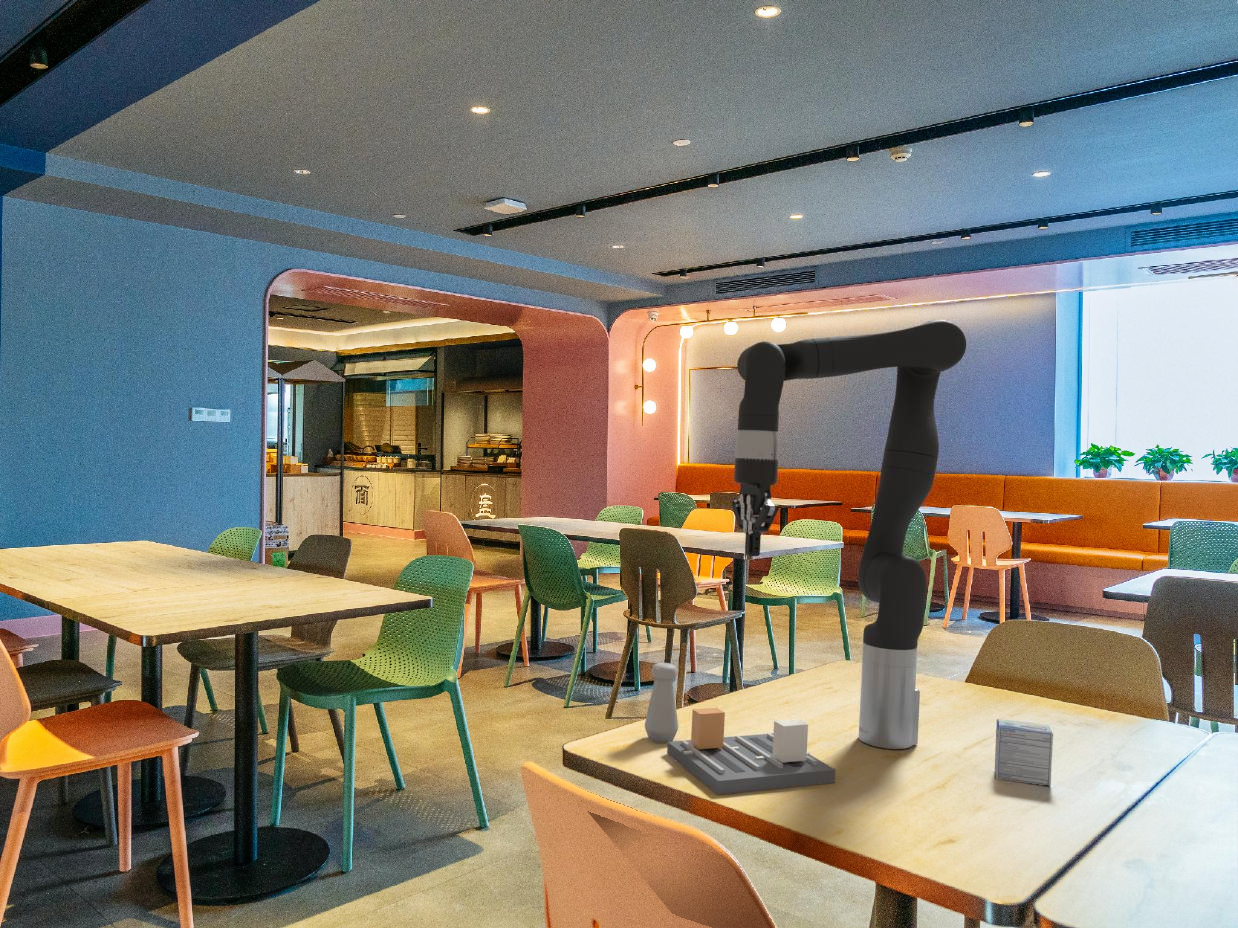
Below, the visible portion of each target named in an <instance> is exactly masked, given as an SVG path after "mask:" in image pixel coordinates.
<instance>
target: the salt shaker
mask: <svg viewBox="0 0 1238 928" xmlns="http://www.w3.org/2000/svg"><path fill="white" fill-rule="evenodd" d="M677 672H678V670H677V666H675V665H674V664H672V663H670V662H657V663H655V664H654V665H653V666H651V677H652V678H654V679H653V680H654V681H653V686H652V688H651V689H652V690H651V695H650V697H649V698H650V700H649V704H648V708H647V712H646V716H645V722H644V729H645V732H646V734H647V737H648V740H649V741H650V742H653V743H654V744H655V743H656V744H668V742H670V741H674V739H675V737H676V735H677V733H678V731H679V726H680V725H679V718H678V713H677V704H676V698H675V690H674V682H673V680H675V679H676V677H677Z"/></svg>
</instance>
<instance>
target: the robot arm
mask: <svg viewBox="0 0 1238 928" xmlns="http://www.w3.org/2000/svg"><path fill="white" fill-rule="evenodd" d="M966 350H967V340H966V336H965V334H964V332H963V330H962V329H961V327H959V325H957V324H955V323H954V322H952V321H949V320H944V319H934V320H933V319H932V320H928V321H926V322H924V323H922V324H918V325H915V326H912V327H908V328H903V329H898V330H892V331H887V332H885V331H884V332H878V333H869V334H867V333H866V334H855V335H854V334H853V335H844V336H843V335H841V336H838V335H837V336H826V337H818V338H817V337H816V338H807V339H802V340H797V341H795V342H791V343H781V344H780V343H779V344H776V343H774V342H772V341H760V342H759V341H758V342H756V343H755V344H753V345H751V346H749V347H747V348H745V349H744V350H743V351H742V352H741V354H739V357H738V360H737V365H736V367H737V371H738V372H737V373H738V374H739V376H740V377H741V378H742V380H744V392H743V393H744V394H743V398H742V399H741V401H740V403H739V407H738V416H737V434H736V441H735V448H734V449H735V450H734V451H735V453H734V474H733V475H734V476H733V480H734V482H735V484H740V489H739V490H738V499H736V500H735V499H733V500H732V501H731V507H732V511H733V514H734V517H735V520H736V523H737V526H738V529H739V530H742V531H743V534H745V539H744V540H745V542H744V543H745V544H744V554H745V556H749V557H760V555H761V538H762V537H761V536H762V535H763V534H764V533H767V532H769V531H770V528H771V526H772V524H773V523H774V520H775V518H776V516H777V514H778V511H779V509H780V506H779V504H777V503H776V504H774V503H773V501H772V500H771V499H772V496H773V495H772V490H771V486H775V485H776V484H777V483H778V474H779V473H778V471H779V453H780V451H779V450H780V449H779V448H780V443H779V441H780V440H779V417H780V409H779V407H780V402H781V397H782V392H783V388H784V382H785V381H791V380H793V381H794V380H809V379H810V380H811V379H822V378H823V379H824V378H832V377H833V378H834V377H840V376H846V375H853V374H858V373H864V372H868V371H874V370H880V369H886V368H887V369H889V368H896V383H895V384H896V385H895V394H894V395H895V396H894V401H893V402H894V403H893V406H892V410H891V415H890V420H889V427H888V431H887V437H886V441H885V446H884V452H883V457H882V462H881V467H880V474H879V483H878V487H877V493H876V497H875V502H874V507H873V513H872V519H871V522H870V526H869V529H868V530H869V531H868V535H867V538H866V541H865V545H864V546H863V547H864V548H863V552H862V555H861V559H860V562H859V566H858V571H857V583H858V588H859V590H860V593H862V595H863V596H864V597H865V598H866V599H868V600H869V601H871V602H874V603H878V612H877V617H876V620H875V621H874V622H872V623H870V624H869V623H868V624H867V625H865V626H864V628H863V634H862V635H863V636H862V654H861V655H862V656H861V657H862V658H861V659H862V660H861V678H860V679H861V681H860V698H859V699H860V700H859V702H860V703H859V718H858V719H859V720H858V724H859V725H858V739H859V740H860V741H861V742H863V743H865V744H866V745H869V746H872V747H877V748H881V749H887V750H888V749H889V750H905V749H909V748H911V747H912V746H915V745H918V740H919V739H918V738H919V723H920V721H919V720H920V702H921V701H920V700H921V699H920V698H921V697H920V696H921V691H920V690H919V689H917V688H916V685H917V665H918V664H917V663H918V662H917V661H918V645H919V644H918V641H919V637H920V635H921V633H922V632H923V627H924V623H925V621H924V620H925V611H926V601H927V590H928V586H927V585H928V582H927V580H928V579H927V574H926V571H925V569H924V567H923V565H922V564H921V562H919V560H918V559H916V558H914V557H912V556H911V557H910V556H908V555H903V550H904V546H905V540H906V536H907V535H906V534H907V532H908V529H909V527H910V524H911V522H912V521H913V519H914V518H915V515H916V514H917V512H918V511H919V510H920V508H921V507H922V505H923V504H924V502H925V500H927V499H926V498H927V497H928V496H929V494H930V492H931V490H932V487H933V484H934V481H935V476H936V470H937V466H938V465H937V464H938V459H939V453H940V452H939V451H940V449H939V448H940V445H939V444H940V442H939V435H938V429H937V423H936V417H935V399H936V393H937V388H938V385H939V384H938V383H939V379H940V377H941V374H942V372H945V371H947V370H950V369H952V368H953V367H954V366H956V365H957V364H958V363H959V362H960V361H961V360H962V359H963V358H964V357H965V353H966Z"/></svg>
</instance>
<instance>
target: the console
mask: <svg viewBox="0 0 1238 928" xmlns="http://www.w3.org/2000/svg"><path fill="white" fill-rule="evenodd" d="M773 734H774V732H771V733H770V732H768V733H761V734H748V735H735V736H734V735H733V736H724V742H723V747H721V748H709V749H697V748H696V747H695V746H693V745H692V744H691V739H686V740H685V739H680V740H673V741H670V742H668V743H666V744H667V747H666V750H667V751H666V755H667V756H669V757H670V758H671V759H673V760H674V761H675V762H677V764H679V765H680V766H681V767H682V768H683V769H685V770H686V771H688V772H689V773H690V774H691V775H693V777H695V779H696V778H697V780H699V781H700V782H701V783H702V784H703V785H705V786H706V787H708V789H710V790H711V791H712V792H714V793H715V794H716V795H717V796H719V795H730V794H739V793H740V794H741V793H749V792H757V791H767V790H776V789H777V790H778V789H787V788H794V787H804V786H806V787H807V786H814V785H815V786H817V785H825V784H834V783H836V769H835V768H833V767H832V766H831V765H828V764H827V763H825V762H824V761H822V760H820V759H819V758H817V757H815V756H814V755H812V754H810V752H808V751H807V759H806V760H805V761H794V762H783V763H782V762H780V761H779V760H777V759H775V758H774V757H772V755H773Z"/></svg>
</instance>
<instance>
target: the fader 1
mask: <svg viewBox="0 0 1238 928" xmlns="http://www.w3.org/2000/svg"><path fill="white" fill-rule="evenodd" d="M725 714H726V712H724V711H723V710H722V709H719V708H718V707H705V708H692V712H691V731H690V733H691V736H690V740H691V744H692V745H693V746H695V747H696V748H697V749H709V748H721V747H723V742H724V737H725V721H726V720H725V718H726V716H725Z"/></svg>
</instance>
